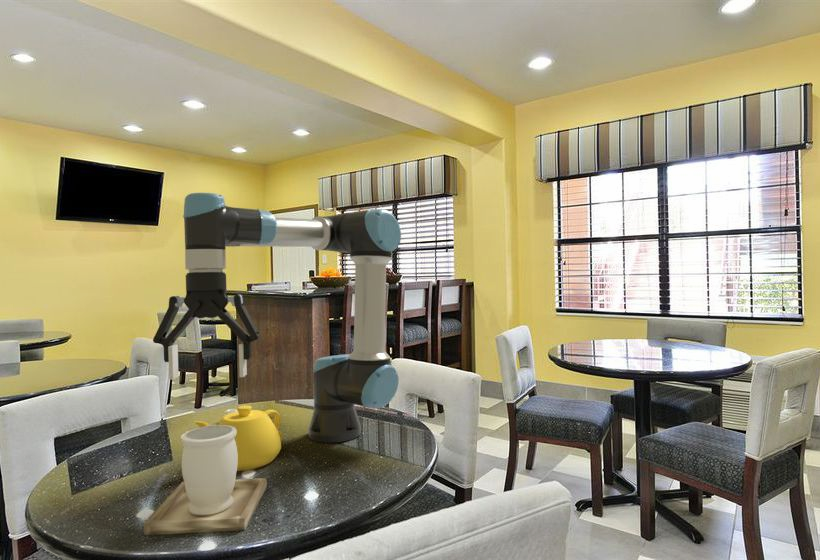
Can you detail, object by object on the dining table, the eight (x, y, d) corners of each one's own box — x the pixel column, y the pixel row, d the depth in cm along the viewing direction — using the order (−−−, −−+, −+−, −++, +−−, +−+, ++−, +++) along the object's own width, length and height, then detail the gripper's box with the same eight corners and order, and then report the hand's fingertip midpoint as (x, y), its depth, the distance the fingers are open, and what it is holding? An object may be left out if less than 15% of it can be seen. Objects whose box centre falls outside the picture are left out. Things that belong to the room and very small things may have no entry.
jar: (219, 521, 93) (217, 442, 93) (170, 517, 95) (168, 439, 95) (248, 496, 103) (246, 425, 103) (204, 492, 105) (202, 423, 105)
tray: (266, 487, 109) (266, 478, 109) (244, 530, 91) (244, 518, 91) (182, 491, 108) (182, 481, 108) (143, 535, 90) (143, 523, 90)
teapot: (214, 487, 110) (213, 426, 110) (175, 469, 121) (174, 413, 121) (303, 454, 129) (302, 402, 129) (262, 440, 140) (261, 393, 140)
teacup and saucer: (252, 419, 163) (252, 407, 163) (238, 427, 155) (238, 414, 155) (228, 418, 165) (228, 406, 165) (214, 425, 157) (213, 412, 157)
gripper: (273, 270, 103) (275, 371, 104) (150, 272, 102) (153, 375, 102) (265, 270, 96) (267, 378, 96) (132, 272, 94) (135, 383, 94)
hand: (208, 377), depth 99 cm, fingers open, 13 cm apart
